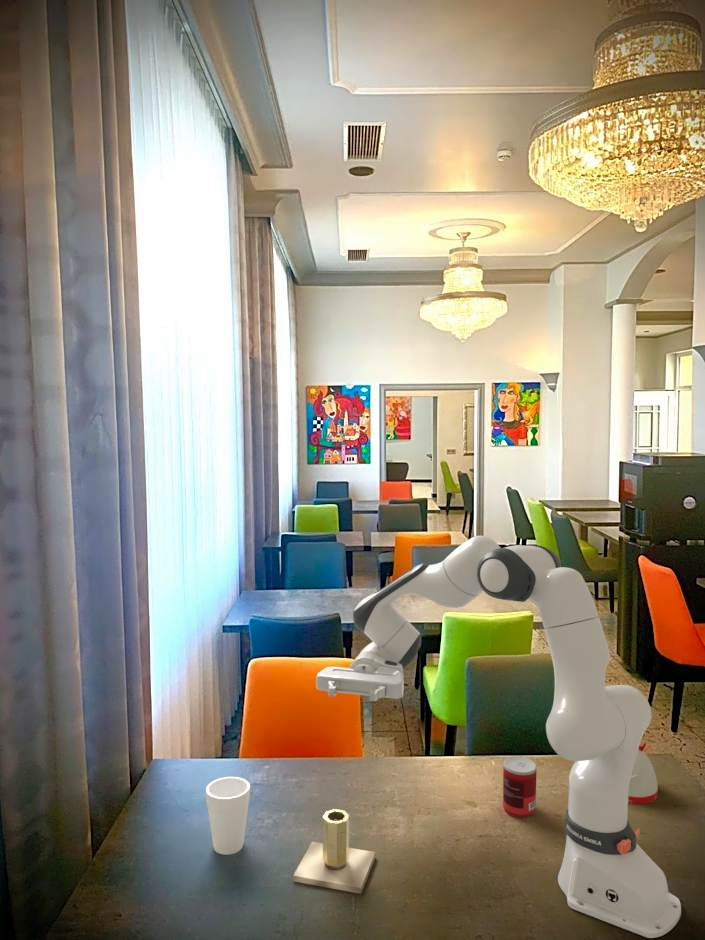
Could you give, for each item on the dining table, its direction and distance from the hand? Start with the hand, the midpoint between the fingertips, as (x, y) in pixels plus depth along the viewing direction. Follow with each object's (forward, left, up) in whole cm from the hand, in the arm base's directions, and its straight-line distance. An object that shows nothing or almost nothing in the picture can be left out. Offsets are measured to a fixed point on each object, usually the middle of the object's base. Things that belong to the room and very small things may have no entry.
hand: (351, 695), depth 154 cm
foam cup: (+16, +22, -32) cm, 42 cm away
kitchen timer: (-34, -64, -32) cm, 80 cm away
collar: (-6, +10, -30) cm, 32 cm away
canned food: (-20, -36, -32) cm, 53 cm away
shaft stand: (-6, +11, -32) cm, 34 cm away
